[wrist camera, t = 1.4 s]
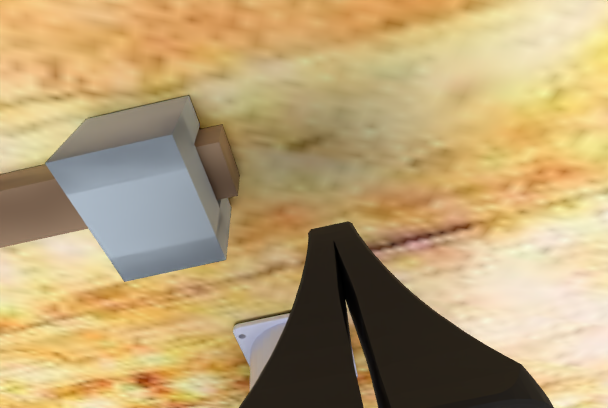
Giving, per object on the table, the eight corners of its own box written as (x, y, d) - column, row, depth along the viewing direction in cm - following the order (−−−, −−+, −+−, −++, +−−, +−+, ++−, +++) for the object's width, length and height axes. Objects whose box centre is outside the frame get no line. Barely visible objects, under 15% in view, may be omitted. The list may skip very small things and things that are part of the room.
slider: (231, 207, 22) (226, 259, 18) (145, 226, 22) (124, 281, 19) (188, 95, 18) (171, 134, 15) (86, 119, 18) (44, 163, 15)
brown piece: (252, 211, 22) (250, 266, 19) (-107, 289, 23) (-176, 356, 20) (204, 74, 18) (191, 111, 14) (-241, 177, 19) (-364, 237, 15)
